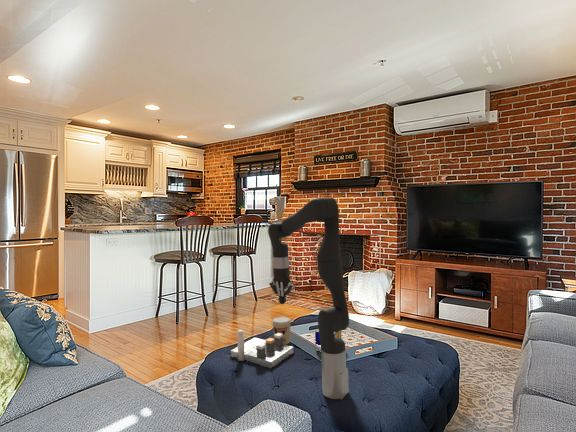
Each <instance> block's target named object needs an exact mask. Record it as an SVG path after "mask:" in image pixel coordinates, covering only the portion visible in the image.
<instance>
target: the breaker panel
mask: <svg viewBox="0 0 576 432" xmlns="http://www.w3.org/2000/svg"><path fill="white" fill-rule="evenodd" d="M260 343H262V344H266V339H262V338H258V337H253V338H251V339H250V340H248V341H244V351H245V354H244V358H245V360H247V361H246V362H248V361H251V362H254V363H253V364H255V363H257V364H256V365H258V364H260V365H259V366H262V367H264V368H269V369H273V368H274V367H276V366H277V365H278V364H280V363H281V362H282V360H283V361H284V360H285V359H287V358H288V357H290V356H291V355H294V346H291V345H289V344H286V345H285V344H283V345H281V346H280V347H279V346H275V350H274V351H272V352H269V351H266V356H264V357H263V358H260V357H257V348H256V345H258V344H260ZM289 355H290V356H289ZM230 357H231V358H234V357H236V358H235V359H238V346H237V347H234V348H233V349H231V350H230ZM286 357H287V358H286ZM251 362H250V363H251ZM272 367H273V368H272Z"/></svg>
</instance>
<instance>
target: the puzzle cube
mask: <svg viewBox="0 0 576 432" xmlns="http://www.w3.org/2000/svg"><path fill="white" fill-rule="evenodd" d="M314 333H315V336H314V337H315V338H314V339H315V345H316V344H318V345H321V344H320V340H319V328H318V329H317V330H316V331H315V332H314ZM334 337H335V338H339V339H342V331H338V332H334ZM342 340H343V339H342Z"/></svg>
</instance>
